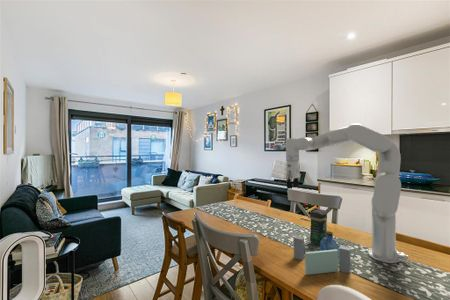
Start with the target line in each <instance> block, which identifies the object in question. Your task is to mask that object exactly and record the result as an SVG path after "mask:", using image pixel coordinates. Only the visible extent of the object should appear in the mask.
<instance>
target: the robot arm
mask: <svg viewBox="0 0 450 300" xmlns="http://www.w3.org/2000/svg"><path fill="white" fill-rule="evenodd" d="M349 143H355V144H358V145H360V146H361V147H364V148H365V149H368V150H370V151H372V152H373V153H376V154H377V155H378V164H377V165H378V166H377V172H376V176H375V178H374V179H375V180H374V190H373V196H372V198H371V248H370V249H369V250H368V252H367V253H368V254H367V255H369V257H370V258H371V259H374V260H376V261H379V262H381V263H382V262H383V263H386V264H397V263H400V261H401V259H404V260H409V255H408V254H405V252H399V251H398V250H397V248H396V247H397V242H396V241H397V240H396V239H397V237H396V231H397V230H396V228H397V227H396V226H397V225H396V222H397V220H396V219H397V218H396V214H397V212H398V208H399V203H400V197H401V190H402V182H401V179H400V172H401V171H400V170H401V161H402V160H401V159H402V157H401V155H402V154H401V153H400V152H401V151H400V149H399V147H398V146H397V144H396V143H395V142H393V141H392V140H390V138H389V137H388V136H387V135H385V134H382V133H380V132H377V131H376V130H373V129H370V128H368V127H367V126H365V125H362V124H360V123H352V124H349V125H348V126H345V127H340V128H337V129H336V128H335V129H332V130H328V131H327V132H324V133H322V134H319V135H316V136H311V137H304V136H303V137H299V138H297V137H292V138H287V139H286V140H285V161H286V169H285V170H286V171H285V172H286V173H285V177H286V178H285V179H286V180H285V181H286V188H287V189H291V190H292V189H293V187H298V186H299V177H300V176H301V175H300V173H301V172H300V171H301V169H300V151H311V150H313V151H314V150H317V149H322V148H326V147H327V148H328V147H333V146H339V145H344V144H349Z"/></svg>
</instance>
